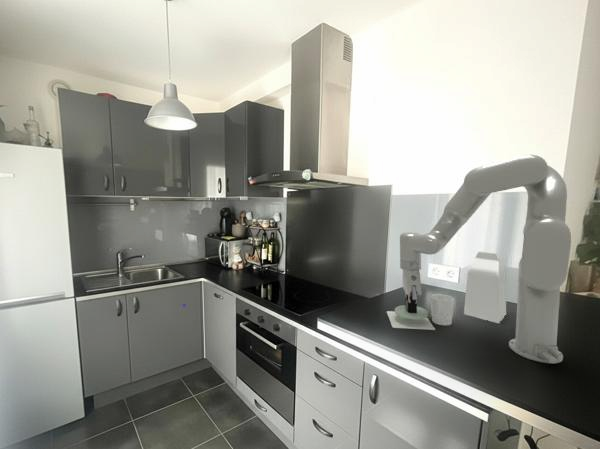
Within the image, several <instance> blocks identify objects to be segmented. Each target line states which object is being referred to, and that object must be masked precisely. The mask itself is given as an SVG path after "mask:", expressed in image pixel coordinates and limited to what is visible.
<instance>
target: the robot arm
mask: <svg viewBox="0 0 600 449" xmlns="http://www.w3.org/2000/svg"><path fill="white" fill-rule="evenodd" d="M521 187H523V188H524V189H525V190H526V192H527V207H526V208H527V209H526V219H525V224H524V227H523V229H522V230H523V231H522V233H523V234H522V235H523V242H522V243H523V244H522V252H521V258H520V259H519V262H518V284H517V285H518V286H517V299H516V300H517V301H516V302H517V303H516V304H517V305H516V318H515V319H516V322H515V338H512V339H510V340H509V341H508V347H509V348H510V349H511V350H512V351H513V352H514V353H515V354H517V355H519V356H521V357H522V358H526V359H528V360H530V361H531V360H532V361H535V362H539V363H544V364H560V363H561V362H563V360H564V355H563V353H562V352H561V351H559V347H558V346H557V343H558V341H557V339H558V327H559V326H558V325H559V310H560V301H561V300H560V299H561V298H560V296H561V294H560V293H561V287H562V286H563V285H564V283H565V282H566V278H567V275H568V270H569V262H570V253H571V247H572V246H571V245H572V232H571V229H570V228H569V226H568V225H567V224H566V216H567V215H566V214H567V213H566V212H567V200H568V190H567V184H566V182H565V180H564V178H563V177H562V174H560V173H559V172H558V171H557V170H556V169H554V168H553V167H552V166H551V165H548V163H547V161H546V159H544V158H543V157H542V156H539V155H536V154H524V155H520V156H516V157H512V158H508V159H506V160H501V161H498V162H494V163H490V164H486V165H482V166H480V167H475V168H473V169H471V170H470V171H468V172H467V174H466V175H465V177H464V179H463V183H462V184H461V186H460V187H459V188H458V189H457V191H456V192H455V194H454V195H453V196H452V197H451V198H450V199H449V201H448V202H447V203H446V204H445V207H444V209H443V213H442V216H440V218H439V220H438V221H437V223H436V224H435V225H434V226H433V227H432V229H431V230H430V231H429V232H428V233H425V234H420V233H417V232H403V233H401V234H400V235H399V262H400V263H399V269H401V270H402V288H403V290H404V293H405V299H404V301H405V302H404V303H405V308H406V300H407V299H408V300H409V302H408V313H417V306H418V301H417V300H418V298H417V296H419V297H421V296H422V282H421V281H422V280H421V273H420V270H422V254H425V255H430V256H431V255H436V254H438V253H439V252H440V251H441V250H443V249H444V248H445V247H446V246H447V245H448V243H449V242H450V241H451V240H452V239H453V238H454V236H455V235H457V232H458V231H459V230H460V229H462V227H463V226H464V225H465V224H466V223H467V222H468V221H469V220H470V219H471V217H473V215H474V214H475V213H476V211H477V210H478V209H479V208H480V207H481V205H483V203H484V202H485V201H486V200H487V199H488V198H489V196H490V195H491V194H493V193H498V192H504V191H507V190H508V191H509V190H512V189H517V188H521Z"/></svg>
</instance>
